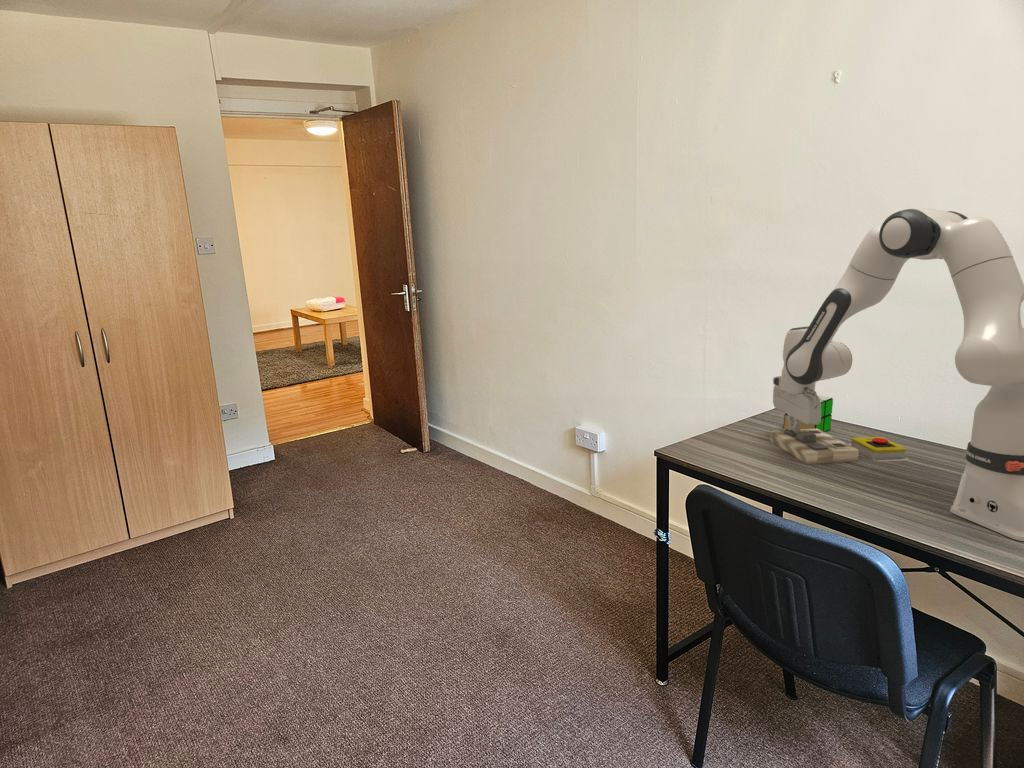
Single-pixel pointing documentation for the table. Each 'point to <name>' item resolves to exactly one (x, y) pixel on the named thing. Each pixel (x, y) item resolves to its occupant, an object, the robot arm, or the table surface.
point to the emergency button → (879, 449)
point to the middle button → (806, 437)
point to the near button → (817, 446)
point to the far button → (790, 433)
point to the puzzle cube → (825, 416)
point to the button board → (834, 453)
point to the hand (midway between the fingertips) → (794, 431)
